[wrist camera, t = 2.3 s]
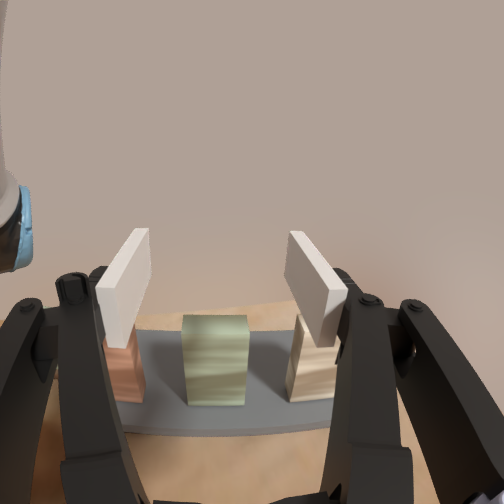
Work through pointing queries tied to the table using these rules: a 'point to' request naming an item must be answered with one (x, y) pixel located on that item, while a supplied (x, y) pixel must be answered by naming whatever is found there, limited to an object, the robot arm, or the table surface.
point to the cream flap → (310, 367)
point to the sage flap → (215, 359)
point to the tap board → (220, 417)
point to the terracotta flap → (126, 370)
